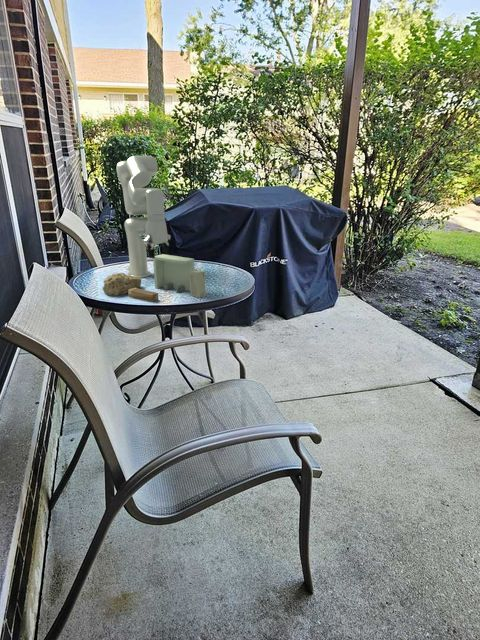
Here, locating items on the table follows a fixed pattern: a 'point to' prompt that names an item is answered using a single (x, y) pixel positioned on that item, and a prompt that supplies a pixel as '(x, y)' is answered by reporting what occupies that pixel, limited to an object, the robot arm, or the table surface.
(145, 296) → the walnut batten
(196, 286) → the skincare box
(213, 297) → the table surface
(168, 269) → the shelter
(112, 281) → the rock
